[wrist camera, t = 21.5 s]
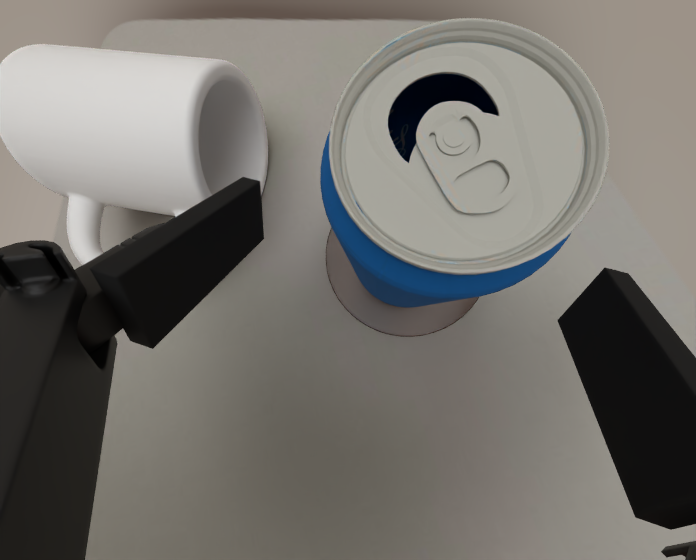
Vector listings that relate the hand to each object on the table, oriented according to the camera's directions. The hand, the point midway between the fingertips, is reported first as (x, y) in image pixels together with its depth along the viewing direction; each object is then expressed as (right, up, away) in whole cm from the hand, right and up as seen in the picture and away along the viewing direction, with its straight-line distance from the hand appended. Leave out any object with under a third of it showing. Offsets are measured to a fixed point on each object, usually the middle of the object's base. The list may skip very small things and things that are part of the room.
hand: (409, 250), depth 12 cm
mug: (-13, +4, +9) cm, 16 cm away
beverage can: (+1, 0, +6) cm, 7 cm away
